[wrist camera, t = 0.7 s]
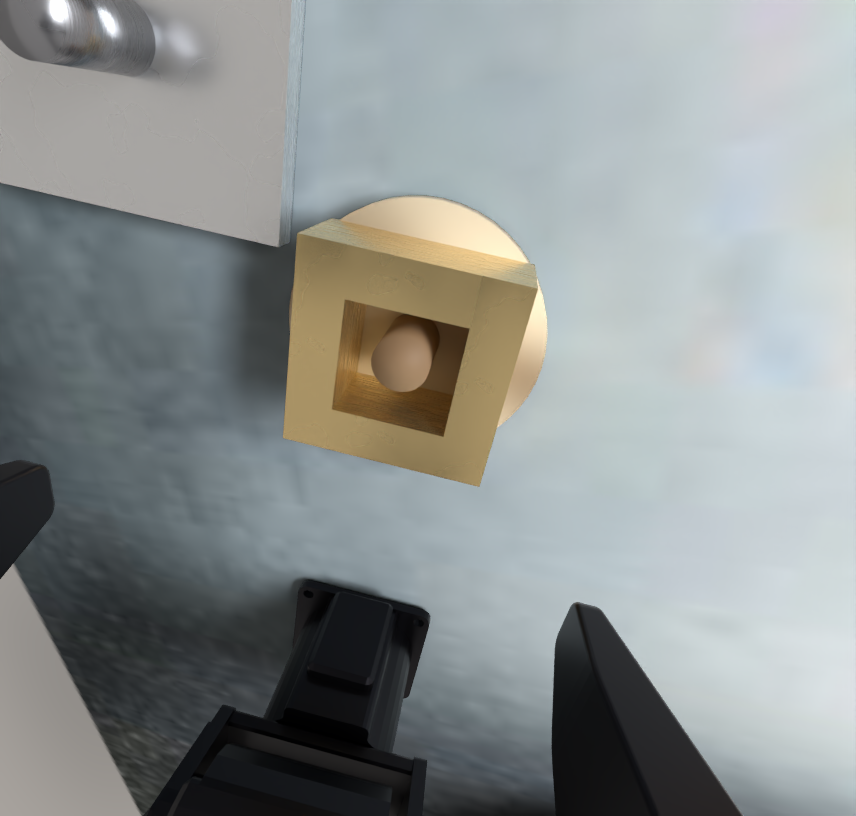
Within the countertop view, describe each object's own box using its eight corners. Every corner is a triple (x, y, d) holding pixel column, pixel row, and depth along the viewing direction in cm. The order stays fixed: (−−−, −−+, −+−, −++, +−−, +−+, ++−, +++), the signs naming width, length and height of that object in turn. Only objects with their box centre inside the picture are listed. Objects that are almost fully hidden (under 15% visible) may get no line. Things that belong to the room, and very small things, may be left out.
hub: (289, 242, 18) (227, 270, 14) (20, 179, 19) (-112, 190, 15) (314, -149, 14) (231, -269, 10) (-46, -221, 14) (-269, -363, 10)
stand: (507, 459, 21) (506, 514, 18) (291, 406, 21) (253, 451, 18) (581, 229, 17) (596, 249, 14) (309, 167, 17) (263, 174, 14)
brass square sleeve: (484, 439, 20) (479, 487, 17) (314, 398, 20) (282, 437, 17) (534, 264, 16) (538, 288, 14) (331, 218, 17) (297, 232, 14)
